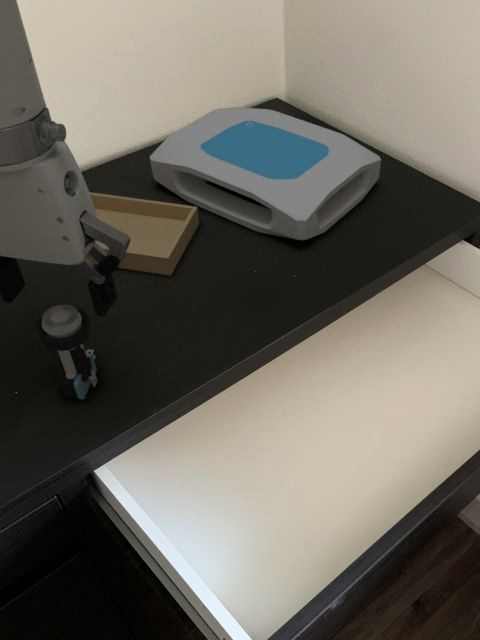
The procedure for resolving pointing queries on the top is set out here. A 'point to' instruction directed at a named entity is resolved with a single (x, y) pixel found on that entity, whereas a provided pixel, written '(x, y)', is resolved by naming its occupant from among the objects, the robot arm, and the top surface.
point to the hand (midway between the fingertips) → (60, 300)
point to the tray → (148, 230)
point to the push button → (69, 347)
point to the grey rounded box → (267, 170)
